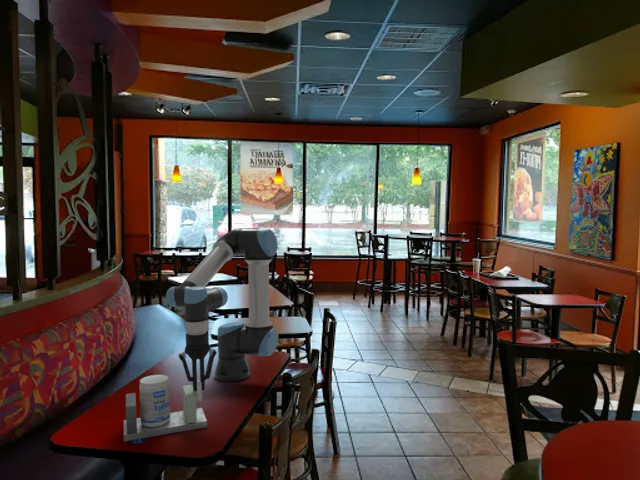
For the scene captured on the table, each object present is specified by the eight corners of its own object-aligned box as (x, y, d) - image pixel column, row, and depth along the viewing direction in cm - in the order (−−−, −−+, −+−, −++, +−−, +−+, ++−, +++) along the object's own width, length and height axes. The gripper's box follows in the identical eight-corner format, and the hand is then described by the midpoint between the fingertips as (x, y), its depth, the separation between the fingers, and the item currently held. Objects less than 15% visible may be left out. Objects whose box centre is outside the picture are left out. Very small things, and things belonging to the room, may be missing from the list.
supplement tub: (159, 429, 160) (157, 385, 159) (134, 426, 162) (132, 382, 161) (176, 417, 169) (174, 375, 168) (152, 414, 172) (151, 373, 171)
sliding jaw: (192, 408, 175) (191, 384, 175) (196, 421, 164) (195, 396, 164) (183, 409, 174) (182, 385, 174) (187, 423, 163) (186, 397, 163)
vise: (202, 413, 177) (200, 383, 176) (207, 426, 166) (206, 394, 165) (124, 426, 167) (122, 394, 167) (123, 441, 156) (122, 407, 155)
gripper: (214, 327, 174) (216, 393, 176) (176, 331, 170) (178, 398, 171) (218, 332, 167) (220, 400, 169) (178, 337, 163) (180, 406, 164)
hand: (199, 399), depth 170 cm, fingers closed
